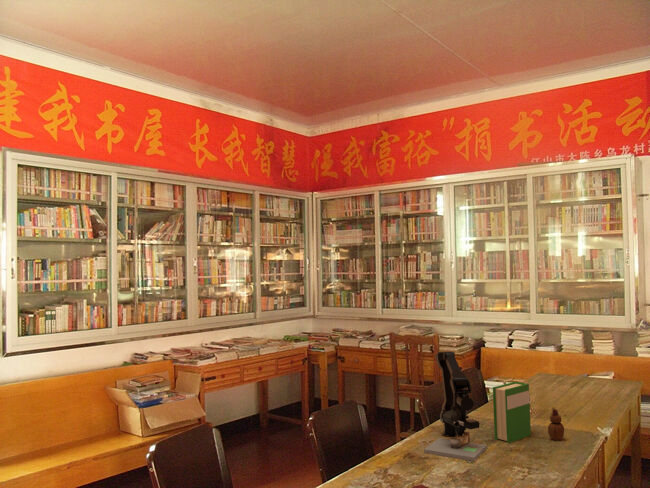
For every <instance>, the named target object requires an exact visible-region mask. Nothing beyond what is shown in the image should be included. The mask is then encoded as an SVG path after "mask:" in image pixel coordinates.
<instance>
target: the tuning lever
mask: <svg viewBox="0 0 650 488" xmlns="http://www.w3.org/2000/svg"><path fill="white" fill-rule="evenodd" d="M470 436H471V435H470V432H469V431H464V433H463V435H462V436H459V437H458V436H456V437H451V438H450V439H449V440H450V446H451V447H454V448H459V447H461V445H463V444H465V443H468V442H469V443H471V442H470V441H471V438H470Z"/></svg>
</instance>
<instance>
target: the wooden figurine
mask: <svg viewBox="0 0 650 488" xmlns="http://www.w3.org/2000/svg"><path fill="white" fill-rule="evenodd" d="M549 421H550V423H548V425H547V432H548V435H549V438H550V439H551V440H553V441H562V440H563V438H564V436H565V427H564V424H563V423H561V422H562V417H561V415H560V414H559V412H558V410H557V409H556V407H554V406H553V407H552V414H551V415H550V416H549Z"/></svg>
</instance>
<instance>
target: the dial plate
mask: <svg viewBox="0 0 650 488" xmlns="http://www.w3.org/2000/svg"><path fill="white" fill-rule="evenodd" d="M487 449H488V445H487V444H482V443H476V442H468V443H465V444H463V445H461V447H459V448H454V447H451V446H450V439H449V438H442V437H438V438H437V439H436V440H434V441H433V442H432V443H430V444H429V445H427V446H426V447H425V448H424V449H423V453H424V454H428V453H429V455H434V454H435V456H440V455H441V457H447V458H453V459H459V460H464V461H470V460H471V462H475V461H476V460H477V459H478V458H480V456H481V455H482V454H484V452H485V451H486V450H487Z"/></svg>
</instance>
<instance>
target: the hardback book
mask: <svg viewBox="0 0 650 488" xmlns="http://www.w3.org/2000/svg"><path fill="white" fill-rule="evenodd" d="M492 400H493V401H492V403H493V404H492V405H493V428H494V440H495V441H498V440H502V441H506V443H507V444H512V443H514V442H516V441H519V440H520V441H521V439H522V440H523V439H525V438H527V437H531V436H532V431H531V429H532V427H531V426H532V425H531V410H530V409H531V405H530V403H531V402H530V384H529V383H524V382H519V381H513V382H509V383H504V384H501V385H497V386H493V387H492Z"/></svg>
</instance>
